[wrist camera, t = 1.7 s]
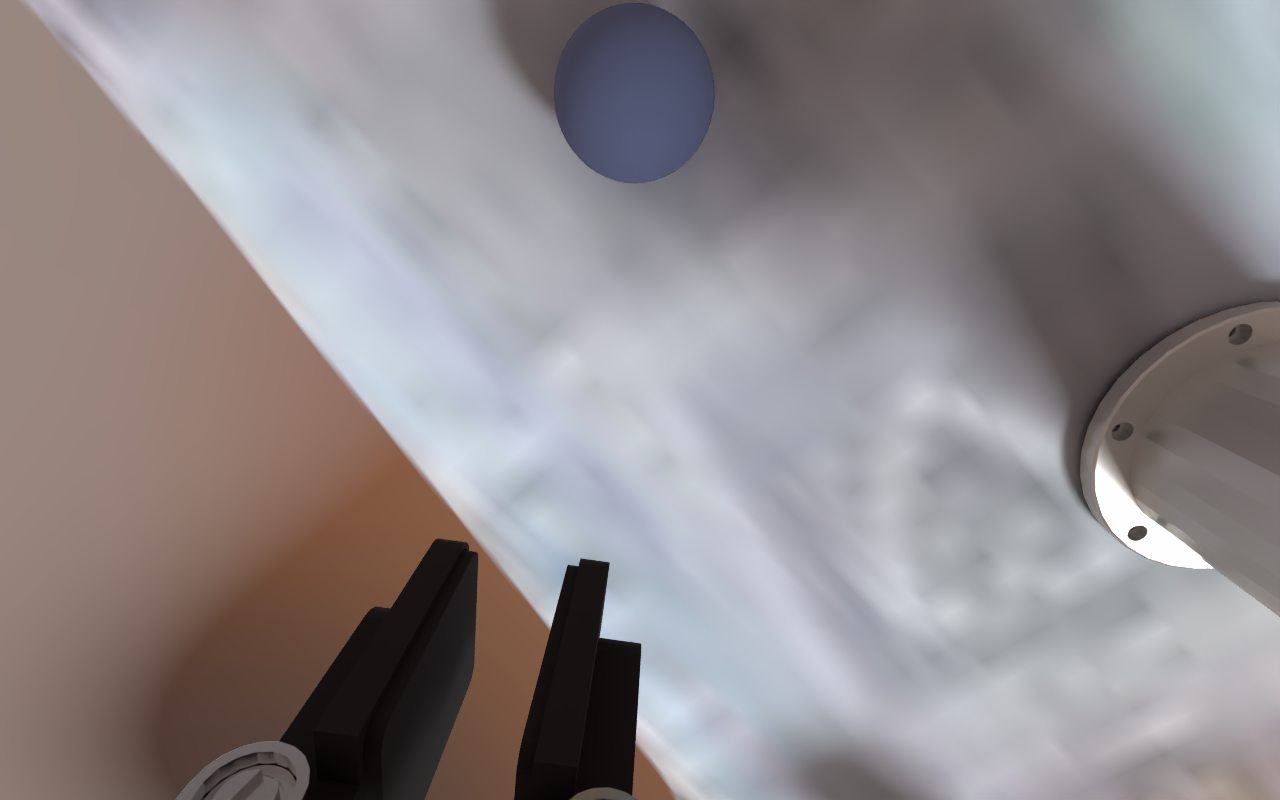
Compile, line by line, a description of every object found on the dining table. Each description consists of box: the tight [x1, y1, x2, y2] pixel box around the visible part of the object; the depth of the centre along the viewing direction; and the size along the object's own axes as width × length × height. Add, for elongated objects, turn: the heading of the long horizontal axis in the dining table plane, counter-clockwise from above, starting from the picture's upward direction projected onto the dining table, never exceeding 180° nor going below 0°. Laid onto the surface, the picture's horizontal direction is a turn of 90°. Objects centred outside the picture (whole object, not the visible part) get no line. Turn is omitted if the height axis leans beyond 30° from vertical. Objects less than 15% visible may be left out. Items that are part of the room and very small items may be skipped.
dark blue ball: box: [554, 3, 714, 183], centre depth 21 cm, size 6×6×6 cm
